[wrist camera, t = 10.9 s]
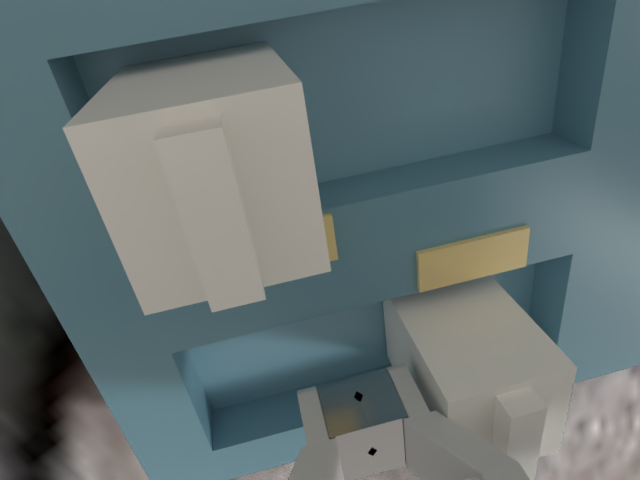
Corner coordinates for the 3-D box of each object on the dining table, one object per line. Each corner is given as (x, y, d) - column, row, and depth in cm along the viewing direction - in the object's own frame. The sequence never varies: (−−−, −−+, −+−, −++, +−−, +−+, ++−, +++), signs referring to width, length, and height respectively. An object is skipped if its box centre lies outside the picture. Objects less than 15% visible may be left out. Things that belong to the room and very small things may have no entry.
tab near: (265, 41, 10) (310, 91, 5) (290, 171, 11) (339, 292, 7) (122, 67, 9) (47, 143, 5) (167, 198, 11) (139, 341, 7)
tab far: (476, 259, 14) (596, 388, 10) (472, 333, 15) (575, 472, 11) (381, 283, 14) (461, 426, 9) (387, 355, 15) (458, 508, 11)
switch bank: (707, -137, 12) (885, -177, 9) (607, 294, 19) (685, 356, 16) (-31, -21, 10) (-142, -21, 7) (169, 408, 17) (159, 503, 14)
